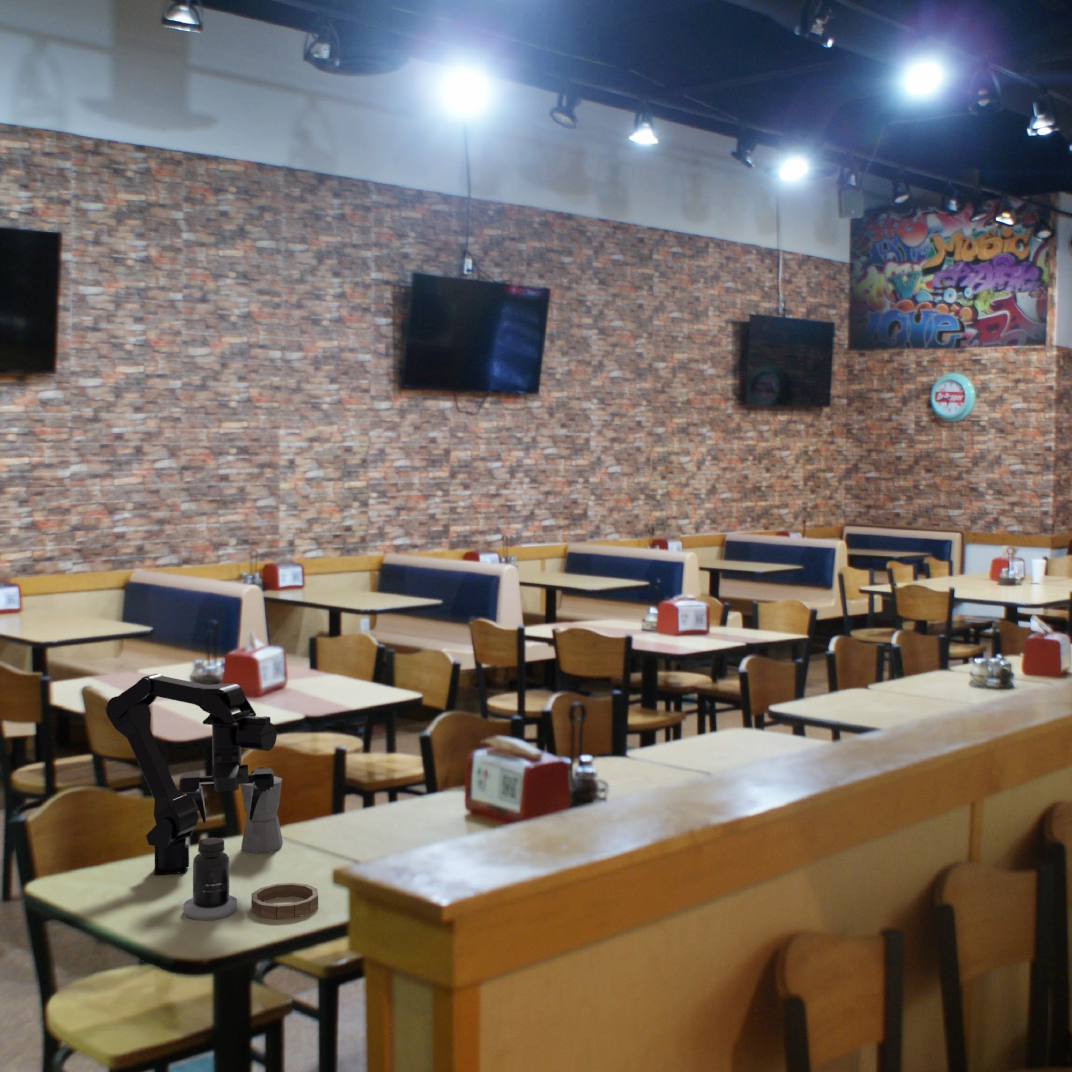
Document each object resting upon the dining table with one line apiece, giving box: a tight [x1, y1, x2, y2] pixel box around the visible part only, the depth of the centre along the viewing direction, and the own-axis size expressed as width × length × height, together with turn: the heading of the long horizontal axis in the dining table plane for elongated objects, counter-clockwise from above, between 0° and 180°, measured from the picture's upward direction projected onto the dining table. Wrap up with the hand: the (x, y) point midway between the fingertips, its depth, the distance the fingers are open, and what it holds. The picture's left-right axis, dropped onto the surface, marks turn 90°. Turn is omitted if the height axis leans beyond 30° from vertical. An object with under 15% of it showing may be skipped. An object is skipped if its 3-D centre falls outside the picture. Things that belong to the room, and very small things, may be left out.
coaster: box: [182, 894, 238, 921], centre depth 240 cm, size 10×10×2 cm
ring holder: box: [250, 882, 319, 920], centre depth 242 cm, size 13×13×2 cm
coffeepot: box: [239, 766, 284, 854], centre depth 279 cm, size 15×9×18 cm, turn 25°
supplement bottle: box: [192, 837, 230, 908], centre depth 240 cm, size 7×7×12 cm
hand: (227, 821), depth 257 cm, fingers open, 9 cm apart
